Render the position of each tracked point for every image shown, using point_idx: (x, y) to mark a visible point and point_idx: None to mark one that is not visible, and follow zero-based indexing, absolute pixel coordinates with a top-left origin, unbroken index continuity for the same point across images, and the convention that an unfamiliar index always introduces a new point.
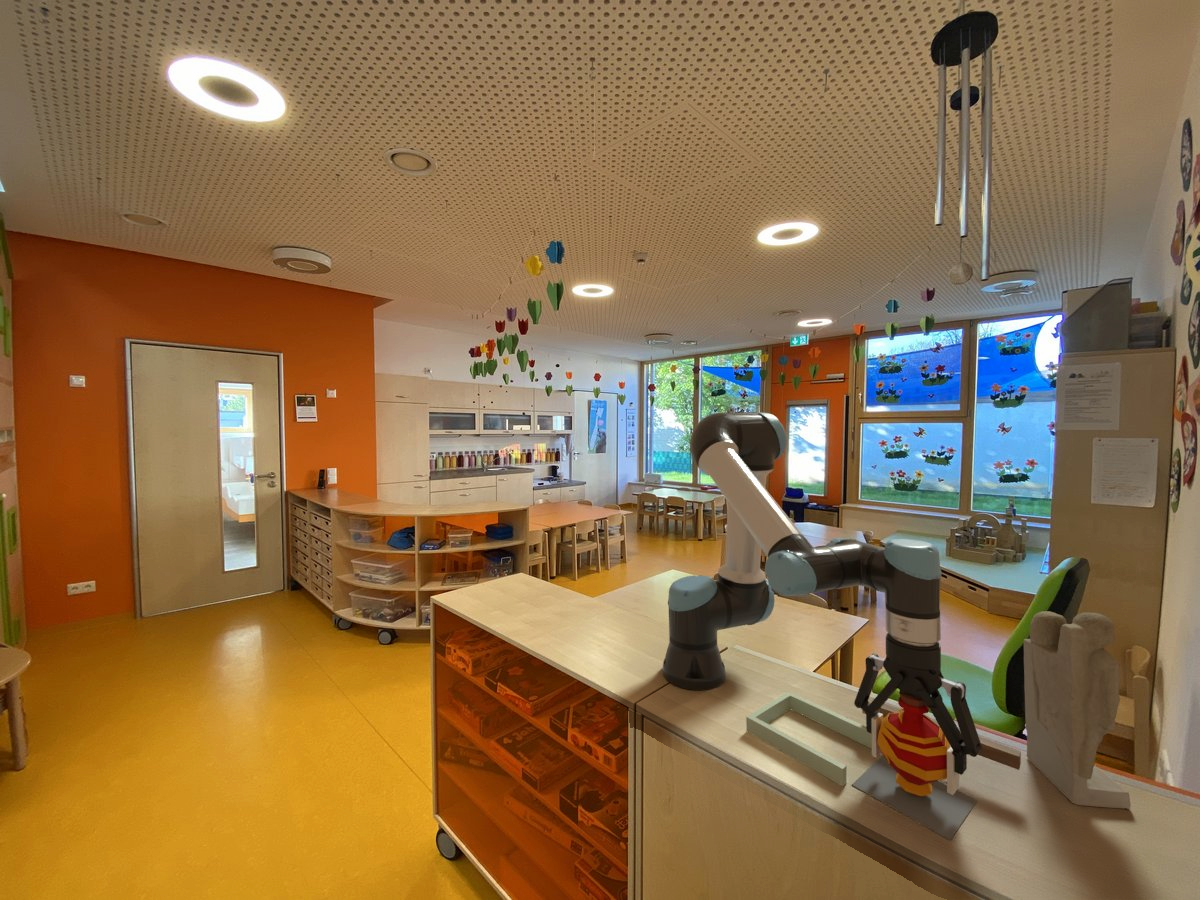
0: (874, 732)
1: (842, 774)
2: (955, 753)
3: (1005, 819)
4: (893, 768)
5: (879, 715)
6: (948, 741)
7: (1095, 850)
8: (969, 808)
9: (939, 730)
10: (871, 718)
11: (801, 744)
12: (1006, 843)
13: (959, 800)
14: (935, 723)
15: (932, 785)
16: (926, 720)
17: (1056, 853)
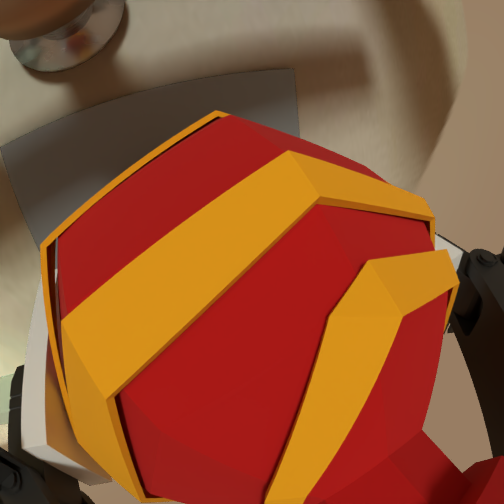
0: None
1: None
2: (452, 330)
3: (348, 87)
4: (67, 178)
5: (62, 461)
6: (462, 350)
7: (429, 56)
8: (296, 126)
9: (448, 312)
10: (89, 484)
11: (3, 419)
12: (364, 165)
13: (267, 115)
14: (448, 286)
15: (188, 124)
16: (427, 402)
17: (408, 113)
